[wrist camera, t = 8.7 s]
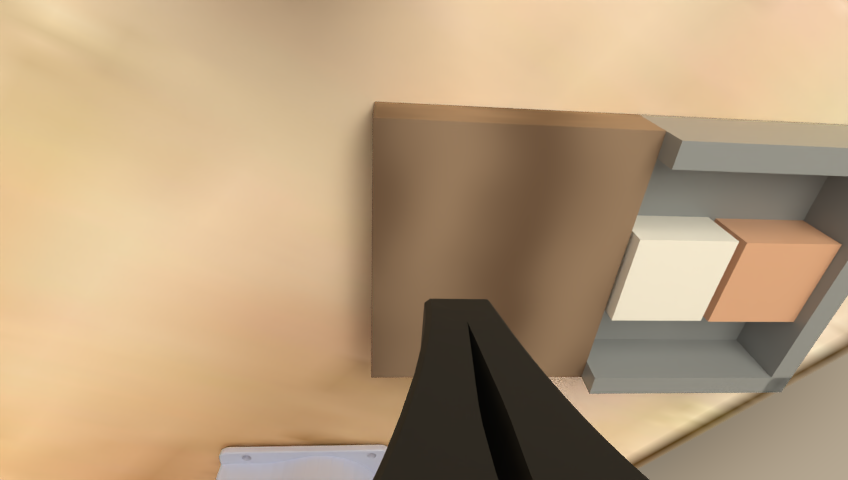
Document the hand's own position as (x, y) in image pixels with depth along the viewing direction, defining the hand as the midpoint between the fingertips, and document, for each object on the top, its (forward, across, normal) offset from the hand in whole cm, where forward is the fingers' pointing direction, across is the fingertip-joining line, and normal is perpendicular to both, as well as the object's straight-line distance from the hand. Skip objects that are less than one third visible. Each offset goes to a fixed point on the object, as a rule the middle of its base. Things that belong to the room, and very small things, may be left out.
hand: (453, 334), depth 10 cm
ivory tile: (+9, -10, +4) cm, 14 cm away
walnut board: (+9, -3, +4) cm, 10 cm away
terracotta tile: (+9, -14, +4) cm, 17 cm away
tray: (+9, -13, +4) cm, 16 cm away
